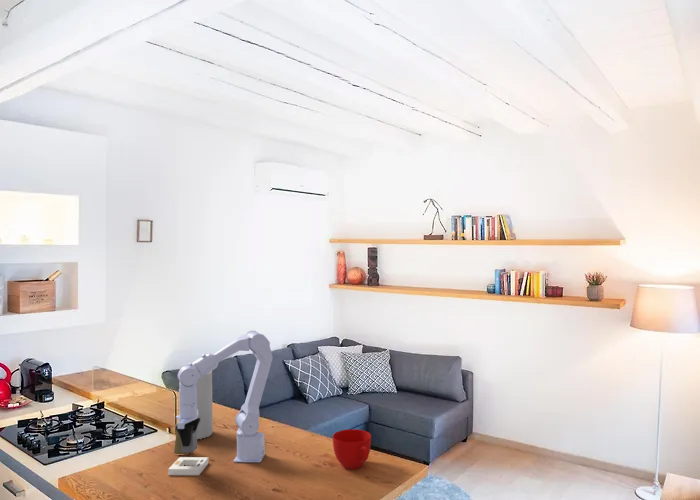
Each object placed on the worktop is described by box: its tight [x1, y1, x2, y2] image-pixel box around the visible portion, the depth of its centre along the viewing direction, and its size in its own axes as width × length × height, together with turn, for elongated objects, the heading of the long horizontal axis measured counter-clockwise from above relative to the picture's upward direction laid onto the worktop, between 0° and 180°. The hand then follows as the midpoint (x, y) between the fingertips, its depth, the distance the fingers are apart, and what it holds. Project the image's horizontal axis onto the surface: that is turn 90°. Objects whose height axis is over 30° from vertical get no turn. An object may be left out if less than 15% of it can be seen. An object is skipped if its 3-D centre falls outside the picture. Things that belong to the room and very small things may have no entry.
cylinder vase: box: [178, 370, 214, 440], centre depth 213 cm, size 12×12×25 cm
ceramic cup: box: [332, 428, 372, 470], centre depth 180 cm, size 13×17×10 cm
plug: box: [181, 430, 198, 453], centre depth 180 cm, size 4×4×7 cm
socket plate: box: [167, 456, 209, 476], centre depth 180 cm, size 10×10×2 cm
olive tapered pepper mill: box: [173, 422, 191, 455], centre depth 195 cm, size 6×6×11 cm
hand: (188, 443), depth 180 cm, fingers closed on plug, 4 cm apart
